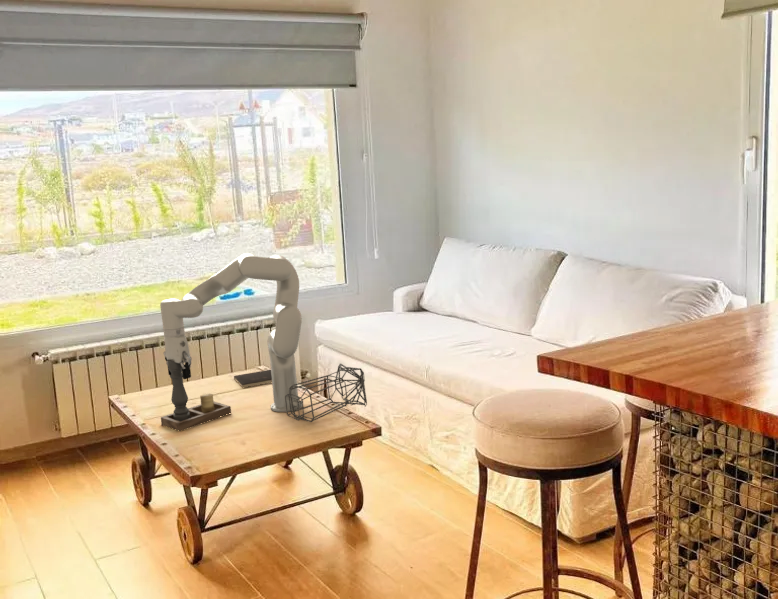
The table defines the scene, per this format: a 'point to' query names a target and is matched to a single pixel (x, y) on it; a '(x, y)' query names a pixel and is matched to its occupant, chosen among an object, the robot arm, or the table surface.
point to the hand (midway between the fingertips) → (179, 376)
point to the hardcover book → (254, 378)
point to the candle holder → (178, 392)
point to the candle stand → (198, 414)
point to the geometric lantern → (359, 383)
